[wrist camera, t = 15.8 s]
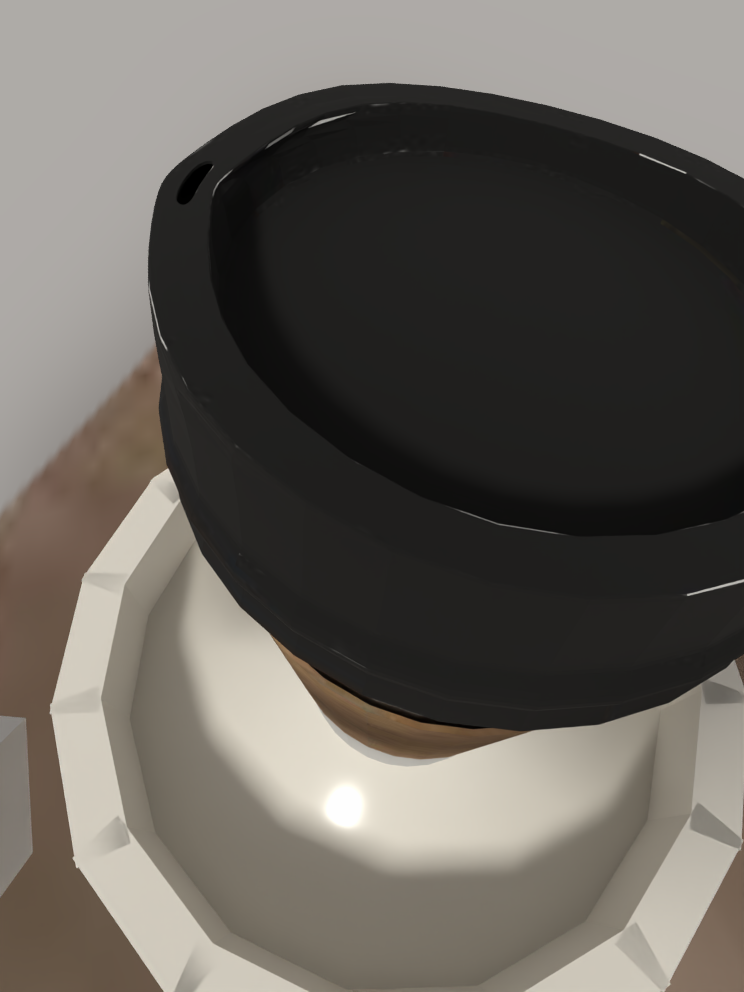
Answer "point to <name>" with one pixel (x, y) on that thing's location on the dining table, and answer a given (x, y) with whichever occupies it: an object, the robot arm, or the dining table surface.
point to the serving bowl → (366, 811)
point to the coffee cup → (459, 407)
